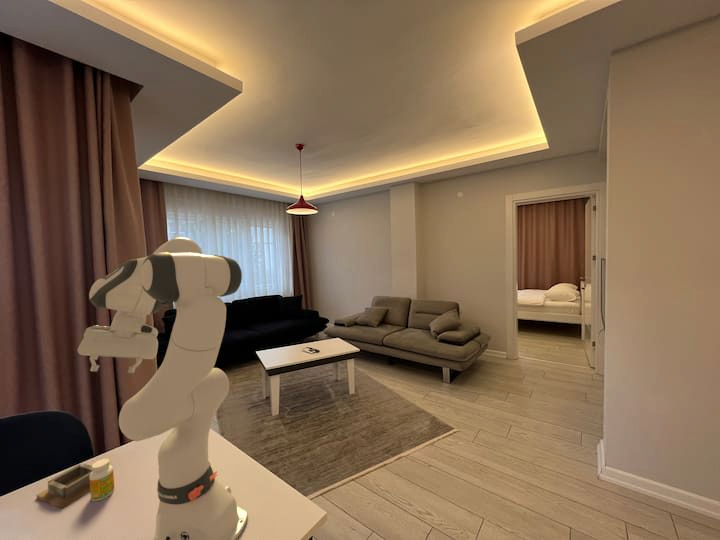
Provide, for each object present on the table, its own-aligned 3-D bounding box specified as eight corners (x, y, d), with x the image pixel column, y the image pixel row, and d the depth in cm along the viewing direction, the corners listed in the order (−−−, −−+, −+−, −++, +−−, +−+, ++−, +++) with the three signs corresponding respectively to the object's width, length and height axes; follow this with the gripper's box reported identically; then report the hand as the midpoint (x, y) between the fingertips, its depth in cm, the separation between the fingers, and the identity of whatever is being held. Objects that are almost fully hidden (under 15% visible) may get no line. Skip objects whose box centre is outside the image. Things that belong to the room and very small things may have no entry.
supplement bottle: (100, 502, 86) (98, 470, 86) (86, 500, 87) (83, 468, 87) (119, 488, 91) (117, 457, 91) (105, 486, 92) (102, 456, 92)
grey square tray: (109, 478, 96) (108, 466, 96) (61, 508, 84) (60, 495, 84) (85, 470, 100) (84, 458, 99) (36, 498, 88) (35, 485, 88)
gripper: (84, 322, 92) (65, 369, 86) (161, 329, 100) (149, 372, 95) (90, 326, 97) (73, 371, 91) (163, 333, 105) (151, 374, 100)
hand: (112, 372), depth 93 cm, fingers open, 8 cm apart
